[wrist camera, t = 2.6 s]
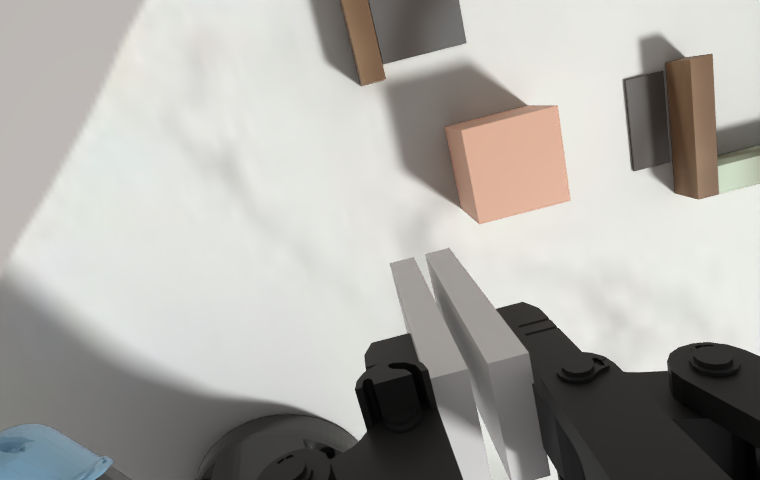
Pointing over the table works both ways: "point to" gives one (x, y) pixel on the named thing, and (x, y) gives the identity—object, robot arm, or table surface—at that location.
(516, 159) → the block
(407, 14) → the trap box
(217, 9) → the table surface
